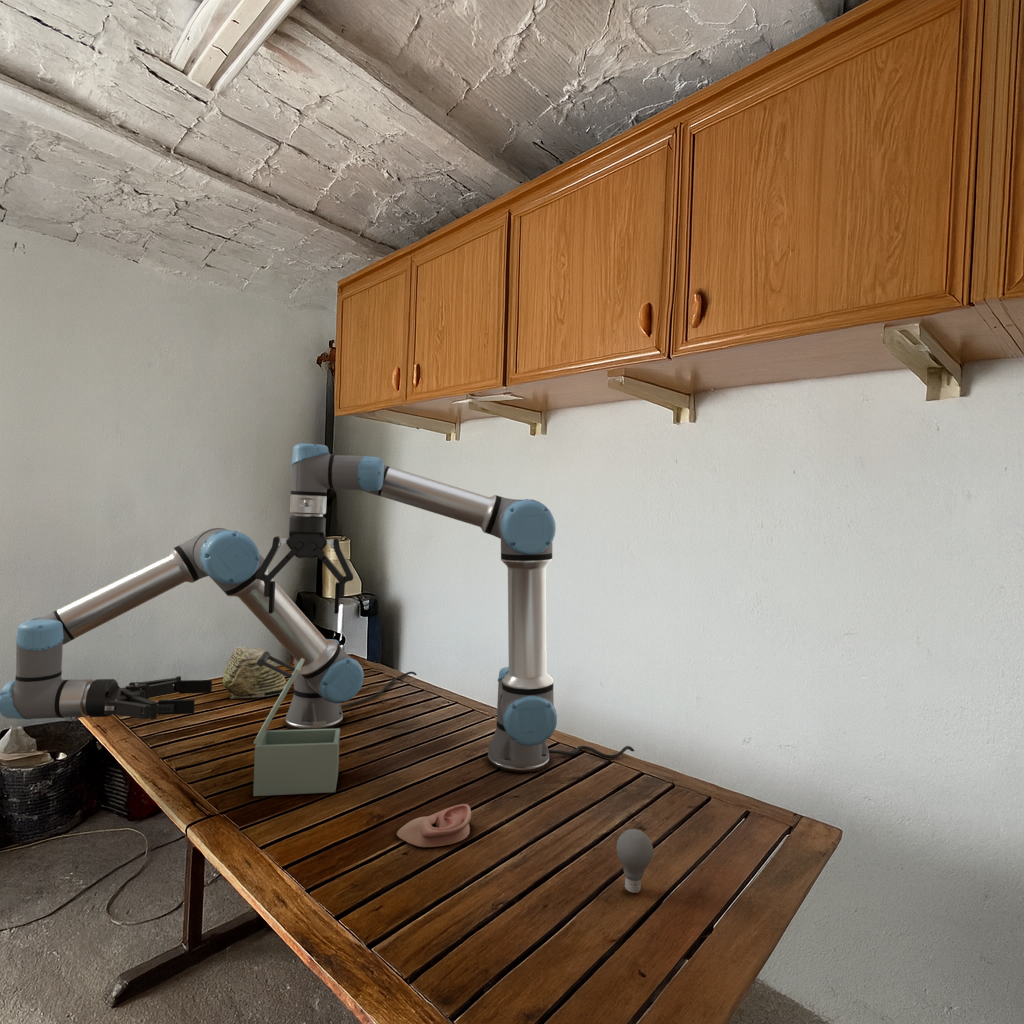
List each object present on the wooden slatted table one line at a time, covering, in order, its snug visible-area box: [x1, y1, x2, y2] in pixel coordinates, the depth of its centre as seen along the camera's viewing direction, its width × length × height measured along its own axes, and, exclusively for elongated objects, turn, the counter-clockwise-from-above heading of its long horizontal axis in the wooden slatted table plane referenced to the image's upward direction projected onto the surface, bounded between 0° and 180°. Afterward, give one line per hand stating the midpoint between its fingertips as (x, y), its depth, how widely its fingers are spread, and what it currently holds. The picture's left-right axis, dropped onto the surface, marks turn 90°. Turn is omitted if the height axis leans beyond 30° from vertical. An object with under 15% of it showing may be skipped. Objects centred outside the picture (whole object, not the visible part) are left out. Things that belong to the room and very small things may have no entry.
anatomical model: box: [396, 803, 472, 848], centre depth 121 cm, size 13×4×12 cm
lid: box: [253, 651, 305, 746], centre depth 137 cm, size 18×9×9 cm
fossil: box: [222, 646, 287, 699], centre depth 198 cm, size 9×18×15 cm, turn 132°
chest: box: [252, 727, 341, 797], centre depth 139 cm, size 17×9×10 cm, turn 102°
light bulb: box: [615, 828, 654, 894], centre depth 106 cm, size 6×6×10 cm
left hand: (203, 695), depth 134 cm, fingers open, 13 cm apart
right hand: (304, 612), depth 138 cm, fingers open, 13 cm apart
